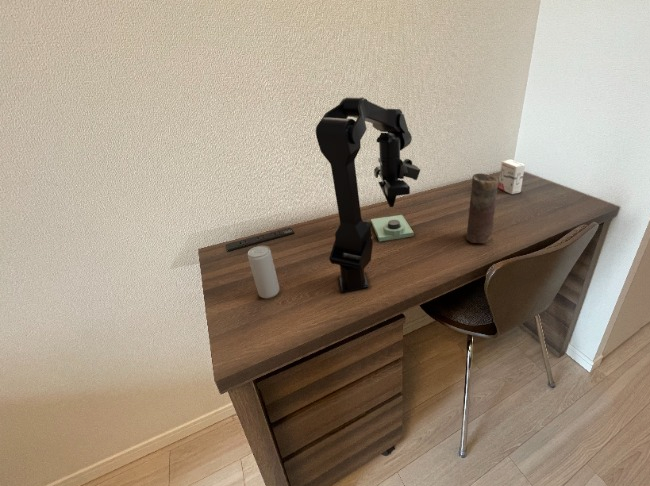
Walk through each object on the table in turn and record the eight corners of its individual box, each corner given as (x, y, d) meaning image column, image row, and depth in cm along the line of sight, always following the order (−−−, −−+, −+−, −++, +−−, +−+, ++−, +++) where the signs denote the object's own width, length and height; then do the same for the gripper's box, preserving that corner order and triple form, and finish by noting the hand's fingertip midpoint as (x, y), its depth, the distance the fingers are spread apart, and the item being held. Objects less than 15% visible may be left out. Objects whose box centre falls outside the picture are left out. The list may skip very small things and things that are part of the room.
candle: (473, 230, 103) (479, 170, 93) (495, 237, 98) (503, 175, 89) (461, 240, 97) (467, 177, 88) (484, 248, 93) (491, 183, 84)
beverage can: (273, 300, 74) (262, 258, 69) (254, 298, 75) (242, 255, 70) (283, 287, 79) (274, 246, 73) (266, 285, 79) (255, 244, 74)
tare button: (401, 229, 99) (401, 224, 98) (389, 230, 98) (389, 225, 97) (398, 223, 102) (397, 218, 101) (387, 225, 101) (386, 220, 100)
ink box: (497, 187, 135) (500, 160, 130) (506, 185, 137) (510, 158, 132) (511, 194, 128) (516, 166, 123) (521, 192, 130) (525, 164, 125)
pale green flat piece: (413, 236, 100) (413, 228, 98) (379, 242, 97) (379, 233, 96) (402, 218, 111) (402, 210, 110) (371, 222, 109) (370, 214, 107)
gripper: (428, 162, 83) (427, 216, 90) (407, 145, 99) (407, 192, 106) (387, 166, 80) (388, 221, 87) (372, 148, 96) (375, 196, 103)
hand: (391, 206), depth 96 cm, fingers closed
